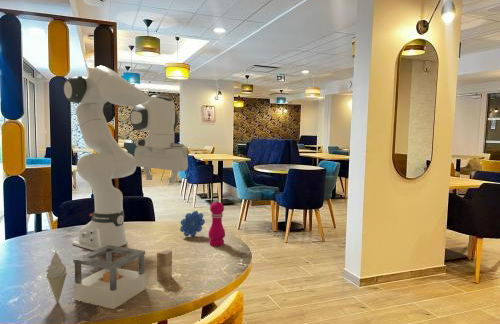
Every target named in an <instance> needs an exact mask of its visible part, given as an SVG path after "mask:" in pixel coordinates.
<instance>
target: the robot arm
mask: <svg viewBox="0 0 500 324" xmlns="http://www.w3.org/2000/svg"><path fill="white" fill-rule="evenodd" d="M63 84H64V85H63V93H64V96H65V98H66V99H67V100H68V102H69V103H70V102H71V103H74V104H78V106H77V107H76V117H77V122H78V126H79V130H80V132H81V134H82V138H83V141H84V143H85V145H86V147H88V148H89V149H91V150H93V151H94V152H96V153H89V154H86V155H83V156H81V157H80V158H79V159H78V161H77V164H76V170H77V173H78V176H80V178H81V179H83V180H84V181H86V183H87V184H88V185H89V186H90V188H91V190H92V194H93V199H94V211H93V212H92V213H90V214H89V217H91V220H90V221H89V222H87V223H86V224H85V225H84V226H82V227H81V228H80V230H79V232H78V238H77V239H75V240H73V241H72V245H73V246H77V247H81V248H84V249H88V250H91V251H95V250H98V249H100V248H103V247H105V246H108V245H110V246H117V247H123V246H125V245H127V243H128V241H127V237H126V232H125V226H124V221H125V220H124V219H125V211H124V209H123V207H124V206H123V202H124V201H123V200H124V199H123V192H122V191H121V190H120V189H118V188H117V187H115V186H114V185H113V181H112V180H113V179H121V178H122V179H123V178H125V177H128V176H131V175H133V174H134V173H135V172H136V170H137V167H139V168H142V169H143V173H144V175H145V180H146V181H153V175H152V174H151V173H150V171H151V169H156V170H157V169H159V170H166V171H171V174H172V175H171V177H168V183H169V184H175V183H176V177H177V176H178V175H179V172H185V171H187V169H188V167H189V160H188V147H187V146H186V145H184V144H183V143H175V129H176V128H177V127H178V123H179V115H178V113H177V111H176V108H175V103H174V99H173V98H171V97H169V96H166V95H161V94H153V95H151V96H150V95H149V94H147V93H146V92H145V91H143V90H141V89H139V88H138V87H136V86H135V85H133V84H132V83H130V82H129V81H128V80H127V79H125V78H123V76H121V75H120V74H119V73H117V72H116V71H114V70H113V69H111V68H109V67H108V66H104V65H99V66H95V67H93V68H92V69H91V71H90V73H89V76H82V75H79V76H73V77H69V78H67V79H66V80H65V81H64V83H63ZM112 104H113V105H117V106H125V107H130V108H131V107H132V108H131V111H130V112H129V121H130V124H131V126H132V128H133V129H134V130H135V131H140V132H148V134H147V135H148V136H146V137H143V138H140V139H136V140H135V146H136V147H135V149H134V155H133V154H131V153H129V152H127V151H126V150H125V149H123V148H122V146H121V145H120V144H119V143H118V142H117V141H116V139H115V138H114V136H113V134H112V132H111V130H110V127H109V124H108V122H107V119H106V117H105V115H104V107H105V108H110V107H111V105H112Z"/></svg>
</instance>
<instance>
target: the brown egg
mask: <svg viewBox="0 0 500 324" xmlns="http://www.w3.org/2000/svg"><path fill="white" fill-rule="evenodd" d="M116 275H117V280H118V279H119V272H117V271H116ZM103 281H105V282H110V272H106V273H104V274H103Z"/></svg>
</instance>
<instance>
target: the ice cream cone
mask: <svg viewBox="0 0 500 324" xmlns="http://www.w3.org/2000/svg"><path fill="white" fill-rule="evenodd" d="M45 272H46V278H47V280H48V283H49V286H50V288H51V291H52V294H53V297H54V300H55V302H59V303H60V300H61V297H62V296H61V295H62V292H63V289H64V284H65V281H66V278H67V274H68V273H67V267H66V265H65V264H64V263H63V262H62V259H61V258H60V256H59V255H58V252H57V250H55V252H54V254H53V257H52V259H51V261H50V264H49V265H48V266H47V269H46V271H45Z"/></svg>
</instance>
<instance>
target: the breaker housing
mask: <svg viewBox="0 0 500 324" xmlns="http://www.w3.org/2000/svg"><path fill="white" fill-rule="evenodd" d="M116 271H117V272H119V279H118V280H117V289H116V290H115V291H111V290H110V282H105V281H103V274H104V273H106V272H110V269H105V268H102V269H101V270H99V271H97V272H95V273H92V274H90V275H88V276H86V277H84V278H82V282H81V283H79V284H77V283H75V282H74V283H73V298H74V299H75V300H74V299H73V300H74V301H76V300H78V302H80V301H82V302H81V303H84V304H89V303H90V305H95V306H98V305H99V307H102V306H103V308H106V309H111V310H116V309H117V308H118V307H119V306H121V305H123V304H125V303H126V302H127V301H129V300H130V299H132V298H134V297H135V296H136V295H138V294H140V293H141V292H143V291H145V290H146V272H144V274H139V271H135V270H130V269H125V268H124V269H123V268H120V267H118V268H116Z"/></svg>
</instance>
